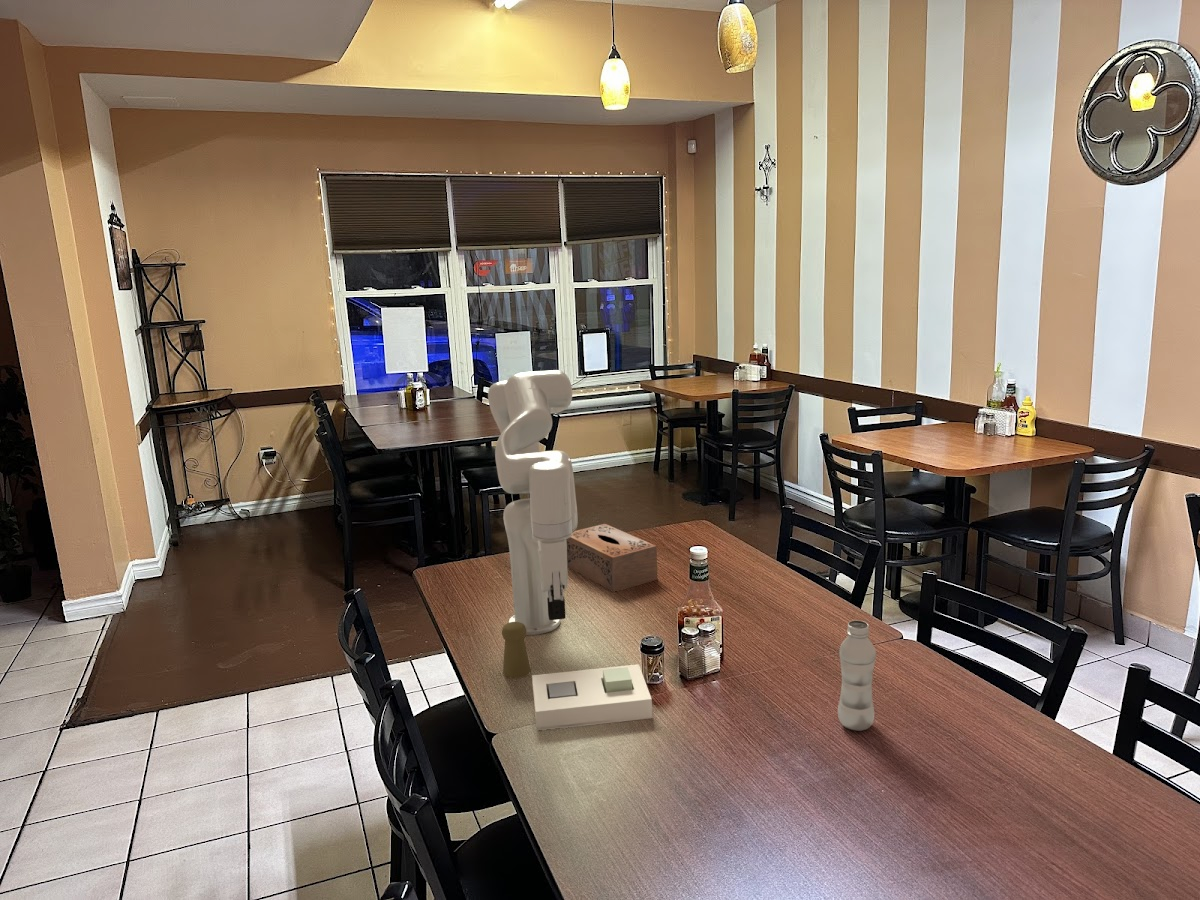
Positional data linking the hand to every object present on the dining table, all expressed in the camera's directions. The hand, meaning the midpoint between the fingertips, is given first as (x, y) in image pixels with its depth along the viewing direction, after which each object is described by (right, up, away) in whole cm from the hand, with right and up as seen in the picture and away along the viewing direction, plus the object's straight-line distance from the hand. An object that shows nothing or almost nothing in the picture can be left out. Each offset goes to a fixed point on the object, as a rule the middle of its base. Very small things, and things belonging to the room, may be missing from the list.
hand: (556, 617), depth 154 cm
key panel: (+6, -18, +4) cm, 20 cm away
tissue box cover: (+11, -3, +74) cm, 75 cm away
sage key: (+12, -15, +4) cm, 19 cm away
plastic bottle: (+55, -19, -7) cm, 59 cm away
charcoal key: (+1, -18, +3) cm, 18 cm away
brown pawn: (-10, -16, +19) cm, 27 cm away
